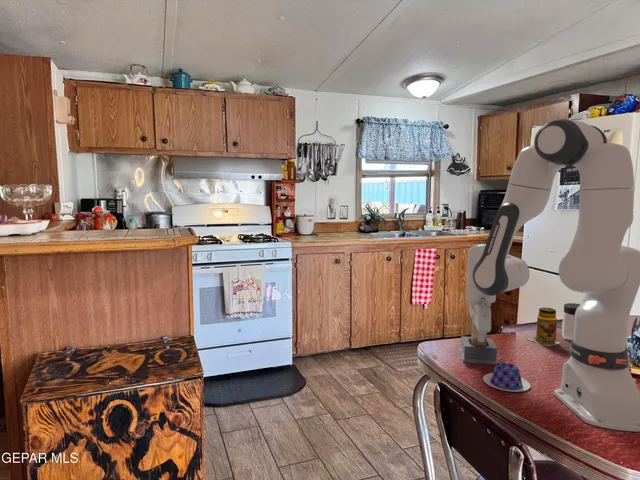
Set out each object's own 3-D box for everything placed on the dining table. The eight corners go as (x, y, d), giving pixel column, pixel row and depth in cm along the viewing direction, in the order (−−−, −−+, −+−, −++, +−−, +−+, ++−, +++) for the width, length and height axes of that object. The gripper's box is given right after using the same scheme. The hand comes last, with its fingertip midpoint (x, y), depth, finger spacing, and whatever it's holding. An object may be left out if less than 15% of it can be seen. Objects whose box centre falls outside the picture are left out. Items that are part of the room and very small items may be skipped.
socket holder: (497, 364, 131) (498, 348, 130) (463, 362, 133) (463, 346, 133) (491, 353, 141) (492, 338, 140) (459, 350, 143) (460, 335, 142)
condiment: (548, 347, 147) (550, 312, 145) (526, 339, 154) (528, 306, 153) (561, 343, 150) (563, 310, 149) (539, 336, 157) (541, 304, 156)
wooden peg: (485, 357, 134) (487, 319, 133) (472, 356, 135) (473, 318, 134) (483, 352, 138) (485, 316, 137) (470, 351, 139) (472, 315, 138)
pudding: (529, 398, 110) (530, 378, 110) (479, 388, 116) (480, 369, 115) (531, 380, 121) (532, 362, 120) (486, 372, 126) (486, 354, 126)
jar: (571, 342, 151) (573, 309, 149) (555, 335, 159) (557, 303, 157) (594, 341, 152) (597, 308, 151) (577, 334, 160) (580, 302, 159)
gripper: (497, 303, 124) (495, 349, 125) (485, 288, 144) (484, 328, 145) (474, 302, 125) (472, 347, 127) (466, 287, 145) (464, 327, 147)
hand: (478, 337), depth 136 cm, fingers open, 6 cm apart
